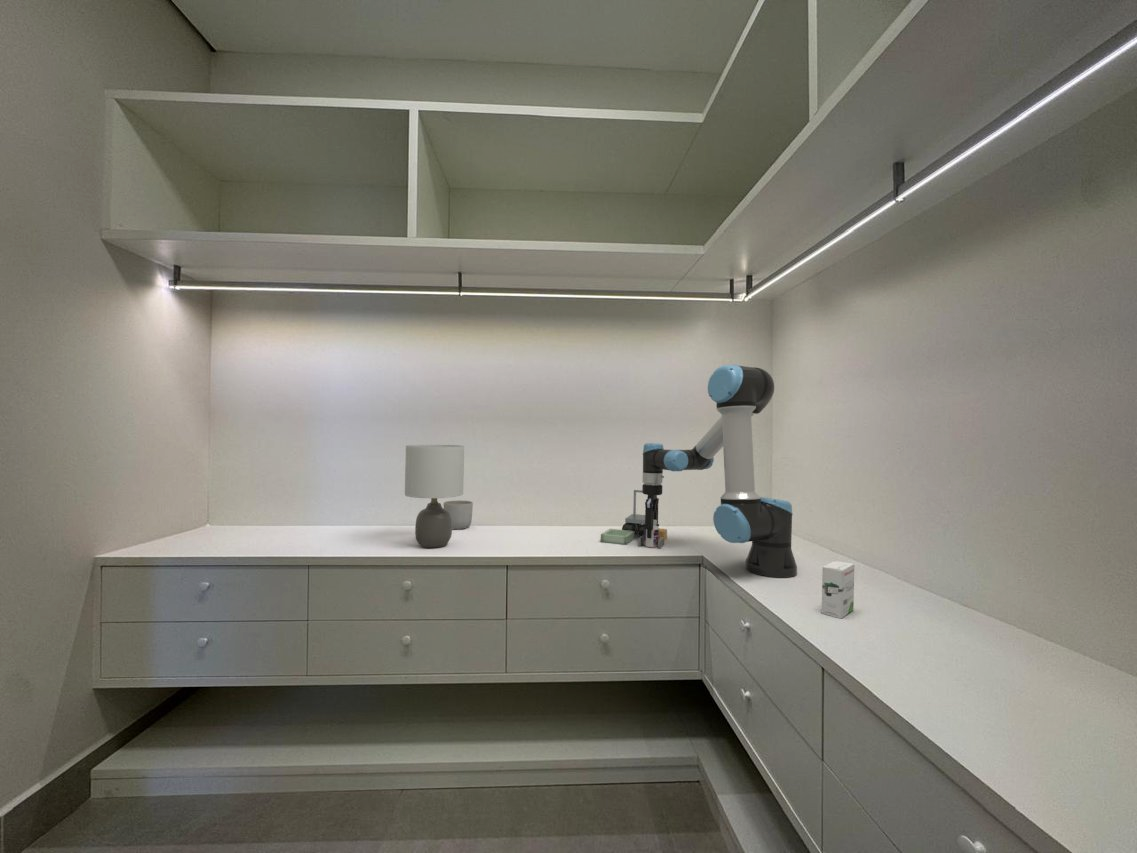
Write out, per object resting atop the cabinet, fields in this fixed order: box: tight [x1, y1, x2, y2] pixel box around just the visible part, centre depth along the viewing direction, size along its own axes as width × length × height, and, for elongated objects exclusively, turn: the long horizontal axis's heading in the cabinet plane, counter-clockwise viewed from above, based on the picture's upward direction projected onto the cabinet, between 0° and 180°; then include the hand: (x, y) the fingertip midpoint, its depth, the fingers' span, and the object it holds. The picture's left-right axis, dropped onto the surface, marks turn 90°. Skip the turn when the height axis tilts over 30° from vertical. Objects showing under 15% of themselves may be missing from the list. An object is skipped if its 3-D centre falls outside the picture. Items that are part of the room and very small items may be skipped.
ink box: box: [821, 560, 855, 619], centre depth 123 cm, size 9×5×12 cm, turn 133°
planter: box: [443, 499, 474, 530], centre depth 216 cm, size 12×12×11 cm
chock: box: [658, 527, 668, 542], centre depth 201 cm, size 6×4×4 cm, turn 156°
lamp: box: [404, 444, 465, 549], centre depth 183 cm, size 21×21×37 cm
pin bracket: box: [637, 535, 665, 550], centre depth 190 cm, size 7×8×3 cm
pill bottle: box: [643, 520, 660, 548], centre depth 190 cm, size 5×5×10 cm
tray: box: [600, 528, 636, 546], centre depth 198 cm, size 12×10×3 cm
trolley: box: [621, 489, 645, 537], centre depth 208 cm, size 12×13×18 cm
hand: (651, 544), depth 190 cm, fingers closed on pill bottle, 5 cm apart
